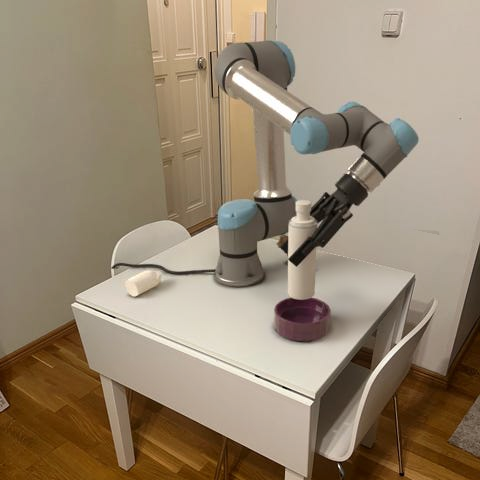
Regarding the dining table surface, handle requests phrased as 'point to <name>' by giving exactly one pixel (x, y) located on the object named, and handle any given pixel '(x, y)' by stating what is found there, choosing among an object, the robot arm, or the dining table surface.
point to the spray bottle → (304, 273)
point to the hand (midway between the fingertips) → (288, 256)
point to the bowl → (302, 319)
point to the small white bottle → (142, 282)
